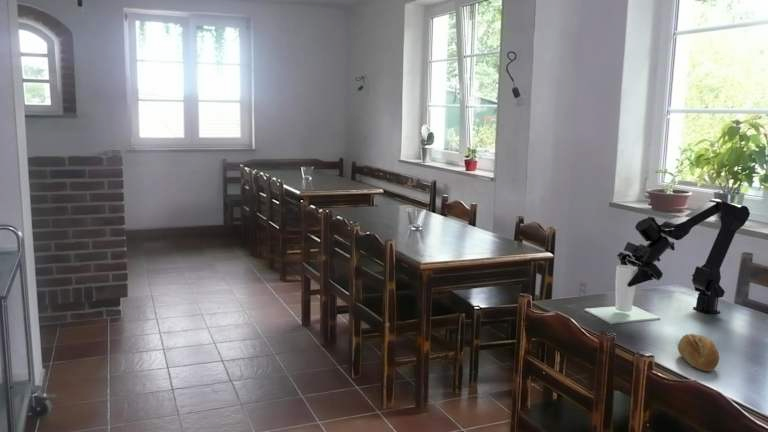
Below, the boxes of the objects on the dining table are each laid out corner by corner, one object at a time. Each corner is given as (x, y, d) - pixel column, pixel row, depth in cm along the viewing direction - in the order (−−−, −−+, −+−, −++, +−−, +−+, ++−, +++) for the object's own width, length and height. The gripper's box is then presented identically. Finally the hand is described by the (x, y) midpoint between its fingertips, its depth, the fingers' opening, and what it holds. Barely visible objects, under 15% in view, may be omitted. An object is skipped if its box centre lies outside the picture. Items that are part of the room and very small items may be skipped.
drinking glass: (636, 310, 223) (640, 267, 220) (630, 314, 217) (633, 270, 215) (616, 306, 227) (620, 263, 224) (609, 310, 221) (613, 267, 219)
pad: (631, 306, 232) (631, 305, 232) (660, 319, 219) (660, 317, 219) (584, 310, 226) (584, 308, 226) (610, 323, 213) (610, 322, 213)
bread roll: (688, 373, 175) (692, 345, 174) (669, 352, 190) (672, 326, 188) (725, 376, 174) (729, 347, 173) (703, 355, 189) (706, 328, 188)
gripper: (624, 228, 228) (593, 260, 227) (658, 240, 210) (625, 274, 209) (641, 250, 231) (611, 281, 230) (676, 263, 213) (644, 297, 212)
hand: (622, 283), depth 220 cm, fingers closed on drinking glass, 7 cm apart
